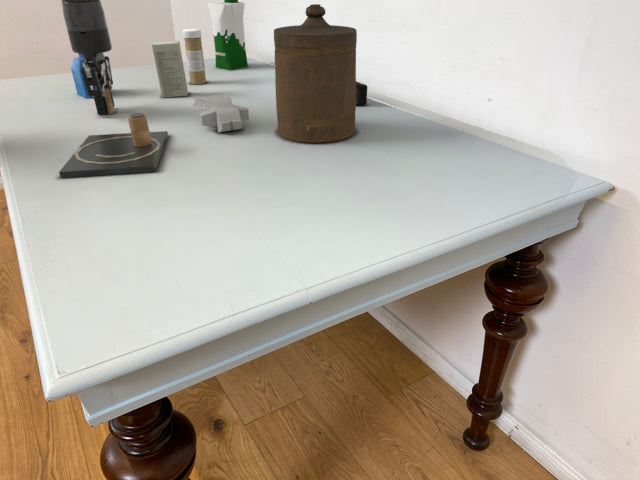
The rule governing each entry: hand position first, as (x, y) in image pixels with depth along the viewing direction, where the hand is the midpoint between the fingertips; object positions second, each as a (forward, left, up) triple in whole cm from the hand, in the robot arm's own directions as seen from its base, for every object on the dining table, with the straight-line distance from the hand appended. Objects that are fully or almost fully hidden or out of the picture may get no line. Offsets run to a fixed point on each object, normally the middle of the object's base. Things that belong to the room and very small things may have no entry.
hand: (106, 110), depth 104 cm
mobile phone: (+53, +2, -1) cm, 53 cm away
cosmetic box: (+13, +14, -1) cm, 19 cm away
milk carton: (+27, +48, -1) cm, 55 cm away
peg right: (+12, -26, +1) cm, 28 cm away
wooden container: (+43, -21, -1) cm, 48 cm away
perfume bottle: (-7, +19, -1) cm, 20 cm away
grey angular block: (+25, -13, -1) cm, 28 cm away
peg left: (0, 0, 0) cm, 0 cm away
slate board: (+8, -28, 0) cm, 29 cm away
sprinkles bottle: (+18, +27, -1) cm, 32 cm away
